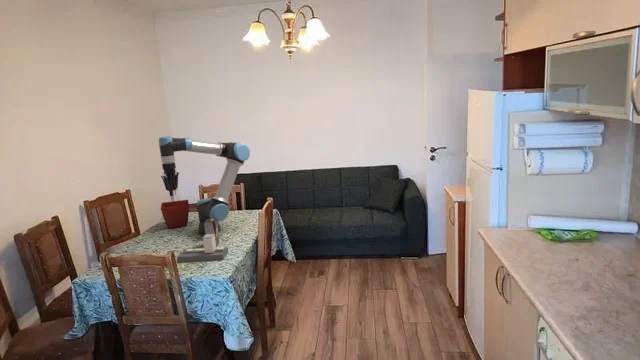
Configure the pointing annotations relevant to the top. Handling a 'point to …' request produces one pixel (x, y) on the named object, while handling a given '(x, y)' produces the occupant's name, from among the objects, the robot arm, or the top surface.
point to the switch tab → (209, 243)
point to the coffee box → (212, 228)
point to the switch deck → (202, 255)
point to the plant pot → (175, 213)
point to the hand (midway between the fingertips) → (173, 200)
